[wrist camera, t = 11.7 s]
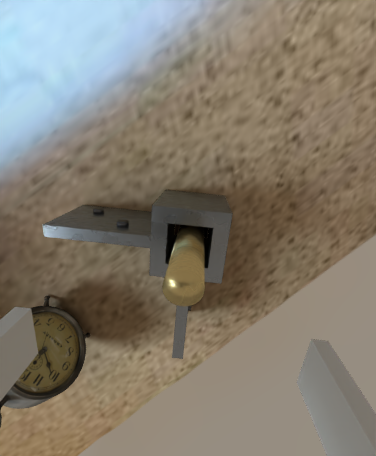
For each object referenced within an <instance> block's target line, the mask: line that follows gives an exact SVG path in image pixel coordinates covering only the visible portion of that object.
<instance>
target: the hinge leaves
mask: <svg viewBox="0 0 376 456" xmlns="http://www.w3.org/2000/svg"><path fill="white" fill-rule="evenodd" d="M231 220H232V211H231V209H230V207H229V204H228V202H227V200H226V197H225V196H223V195H213V194H204V193H194V192H184V191H174V190H165V191H164V192H163V193H162V195H161V196H160V197H159V198H158V199H157V200H156V201H155V203H154V204H153V205H152V212H147V211H137V210H128V209H118V208H109V207H99V206H89V205H82V206H80V207H78V208H76V209H74V210H72V211H70V212H68V213H66V214H64V215H62V216H60V217H58V218H56V219H54V220H52V221H50V222H47V223H45V224H43V231H44V237H53V238H62V239H71V240H81V241H90V242H99V243H108V244H117V245H127V246H136V247H145V248H150V272H149V275H150V276H159V277H165V275H166V271H167V268H168V264H169V261H170V258H171V254H172V251H173V247H174V244H175V241H176V237H177V235H175V224H182V225H191V226H201V227H208V233H207V238H204V272H205V282H212V283H222V276H223V270H224V264H225V258H226V251H227V245H228V239H229V233H230V226H231ZM188 310H189V311H191V306H178V305H177V309H176V321H175V332H174V343H173V354H172V358H180V359H183V351H184V342H185V333H186V323H187V314H188Z"/></svg>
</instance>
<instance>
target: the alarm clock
mask: <svg viewBox="0 0 376 456" xmlns="http://www.w3.org/2000/svg"><path fill="white" fill-rule="evenodd" d="M49 298H50V297H49V296H46V297H45V302H44V306H38V307H33V308H31V311H32V317H33V323H34V330H35V336H36V342H37V348H38V354H37V355H36V357H35V358H34V359H33V361H32V362H31V363H30V364H29V366H28V367H27V368H26V369H25V371H24V372H23V373H22V375H21V376H20V377H19V378H18V380H17V381H16V382H15V383H14V385H13V386H12V387H11V389H10V390H9V391H8V392H7V394H6V395H5V396H4V398H3V399H2V400H1V401H0V410H1V407H2V406H3V405H4V406H6V407H10V408H17V409H19V408H29V407H33V406H36V405H38V404H41V403H43V402H45V401H47V400H48V399H50V398H52V397H54V396H56V395H58V394H60V393H62V392H63V391H65V390H66V389H67V388H68V387H69V386H70V385H71V384H72V383H73V382H74V381H75V379H76V378H77V377H78V375H79V373H80V371H81V369H82V367H83V364H84V360H85V354H86V343H85V338H86V337H89V336H90V333H87V334H86V335H84V334H83V331H82V329H81V327H80V325H79V324H78V322H77V321H76V320H75V319H74V318H73V317H72V316H71V315H70V314H69V313H67V312H66V311H64V310H62V309H59V308H57V307H52V306H49ZM1 418H2V417H1V413H0V427H1Z"/></svg>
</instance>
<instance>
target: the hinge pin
mask: <svg viewBox="0 0 376 456" xmlns="http://www.w3.org/2000/svg"><path fill="white" fill-rule="evenodd" d="M162 289H163V293H164V295H165V297H166V298H167V299H168V300H169V301H170V302H171V303H173V304H175V305H178V306H191V305H194V304H196V303H197V302H199V301H200V300H201V299H202V297H203V295H204V291H205V272H204V227H201V226H191V225H182V224H180V227H179V230H178V234H177V237H176V241H175V244H174V247H173V251H172V254H171V258H170V261H169V264H168V268H167V271H166V275H165V278H164V281H163V286H162Z"/></svg>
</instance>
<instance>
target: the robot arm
mask: <svg viewBox="0 0 376 456" xmlns="http://www.w3.org/2000/svg"><path fill="white" fill-rule="evenodd" d="M37 354H38V348H37V342H36V336H35V330H34V323H33V317H32V311H31V308H22V307H14V308H13V309H12V310H11V311H10V312H8V313H7V314H6V315H5V316H4V317H3V318H2V319H0V401H1V400H2V399H3V398H4V396H5V395H6V394H7V392H8V391H9V390H10V389H11V387H12V386H13V385H14V383H15V382H16V381H17V380H18V378H19V377H20V376H21V375H22V373H23V372H24V371H25V369H26V368H27V367H28V366H29V364H30V363H31V362H32V361H33V359H34V358H35V357H36V355H37ZM297 384H298V386H299V389H300V391H301V394H302V396H303V399H304V401H305V404H306V406H307V408H308V411H309V413H310V416H311V418H312V421H313V423H314V426H315V428H316V430H317V433H318V435H319V438H320V440H321V443H322V445H323V448H324V450H325V453H326V455H327V456H376V414H375V412H374V410H373V409H372V407H371V406H370V404H369V403H368V401H367V400H366V398H365V396H364V395H363V394H362V392H361V390H360V389H359V387H358V386H357V384H356V383H355V381H354V380H353V378H352V377H351V375H350V374H349V372H348V371H347V369H346V368H345V366H344V364H343V363H342V361H341V360H340V358H339V357H338V355H337V354H336V352H335V351H334V349H333V348H332V346H331V345H330V343H329V342H328V341H324V340H315V339H311V342H310V345H309V348H308V350H307V353H306V356H305V359H304V362H303V366H302V368H301V371H300V374H299V377H298V380H297Z"/></svg>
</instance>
